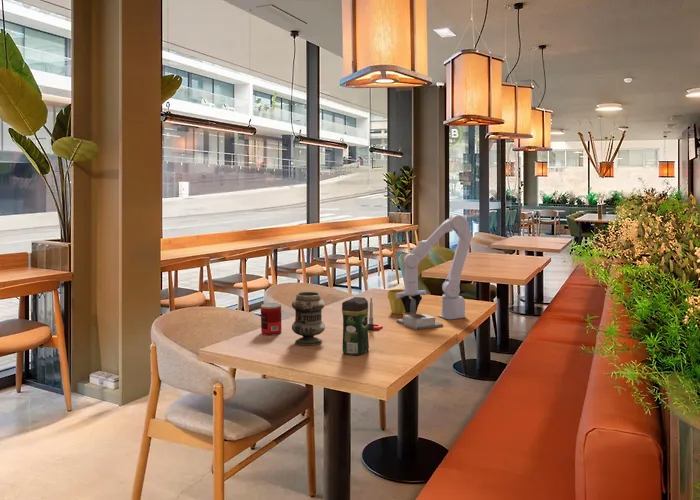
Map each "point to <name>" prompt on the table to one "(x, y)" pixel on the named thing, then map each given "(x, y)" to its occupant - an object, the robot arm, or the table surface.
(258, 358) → the table surface
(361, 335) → the coffee jar
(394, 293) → the plant pot
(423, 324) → the bracket fixture
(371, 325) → the tow hook
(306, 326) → the apothecary jar
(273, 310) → the canned food
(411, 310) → the pin
